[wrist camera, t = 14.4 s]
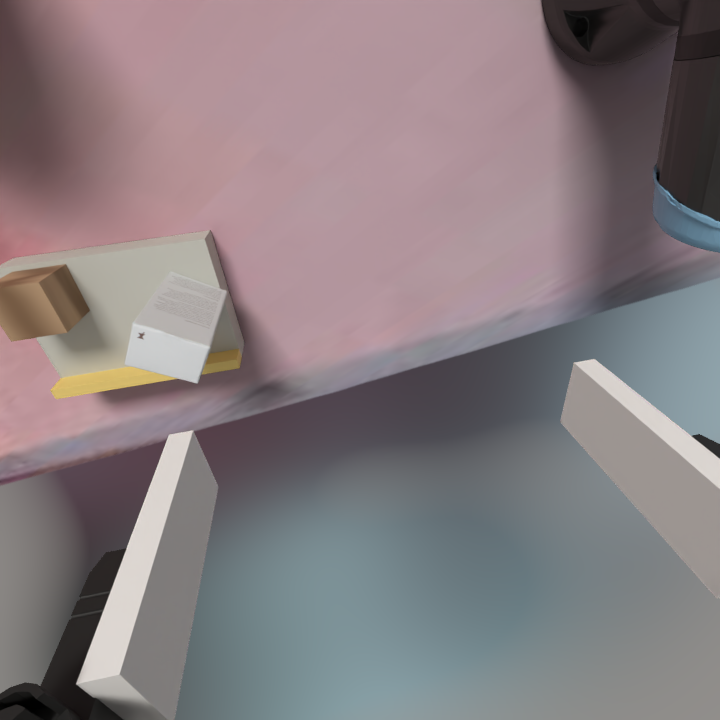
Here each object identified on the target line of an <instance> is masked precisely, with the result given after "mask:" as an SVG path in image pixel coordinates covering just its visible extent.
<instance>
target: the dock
mask: <svg viewBox="0 0 720 720" xmlns="http://www.w3.org/2000/svg"><path fill="white" fill-rule="evenodd" d="M63 264H66V265H67V267H68V269H69V271H70V273H71V275H72V277H73V279H74V281H75V283H76V284H77V286H78V288H79V290H80V292H81V294H82V296H83V298H84V300H85V302H86V304H87V306H88V307H89V309H90V311H89V312H88V313H87V314H86V315H85V316H84V317H83V318H82V319H81V320H80V321H79V322H78V323H77V324H76V325H75V326H74V327H73V328H72V329H71V330H70V331H69V332H68V333H63V334H56V335H50V336H43V337H37V338H36V339H37V341H38V342H39V344H40V345H41V347H42V348H43V350H44V352H45V353H46V355H47V356H48V358H49V360H50V361H51V363H52V364H53V366H54V368H55V369H56V371H57V372H58V374H59V375H60V377H61V379H60V380H59V381H58V382H57V383H56V384H55V386H54V387H53V388H52V389H51V390H50V391H51V392H52V394H53V395H54V397H55V398H56V399H60V398H66V397H72V396H77V395H83V394H89V393H95V392H101V391H107V390H113V389H119V388H125V387H131V386H137V385H143V384H149V383H155V382H161V381H167V380H173V379H177V378H174V377H170V376H166V375H162V374H158V373H154V372H150V371H146V370H142V369H139V368H135V367H131V366H127V365H125V364H124V363H125V358H126V353H127V348H128V343H129V338H130V333H131V328H132V323H133V322H134V320H135V319H136V318H137V316H138V315H139V314H140V312H141V311H142V310H143V308H144V306H145V305H146V304H147V302H148V301H149V300H150V298H151V297H152V295H153V294H154V292H155V291H156V290H157V288H158V287H159V286H160V284H161V283H162V281H163V280H164V279H165V277H166V276H167V274H168V273H169V272H170V271H172V272H175V273H177V274H180V275H183V276H186V277H188V278H191V279H194V280H197V281H200V282H203V283H205V284H208V285H211V286H214V287H217V288H219V289H222V290H225V291H227V297H226V300H225V303H224V306H223V310H222V313H221V316H220V319H219V322H218V325H217V329H216V332H215V335H214V339H213V342H212V346H211V349H210V352H209V355H208V358H207V361H206V364H205V366H204V369H203V372H202V374H208V373H214V372H220V371H226V370H232V369H238V368H240V364H241V359H242V354H243V348H244V340H243V336H242V333H241V330H240V326H239V323H238V320H237V316H236V313H235V310H234V306H233V303H232V300H231V297H230V293H229V290H228V287H227V283H226V280H225V277H224V273H223V270H222V267H221V263H220V260H219V257H218V254H217V250H216V247H215V244H214V240H213V237H212V234H211V230H209V231H202V232H195V233H187V234H180V235H173V236H166V237H159V238H152V239H145V240H138V241H131V242H124V243H117V244H110V245H102V246H95V247H88V248H81V249H74V250H67V251H60V252H53V253H46V254H39V255H32V256H24V257H17V258H13V259H11V260H9V261H7V262H5V263H3V264H1V265H0V278H2V277H4V276H5V275H7V274H9V273H11V272H14V271H21V270H28V269H35V268H42V267H49V266H56V265H63Z"/></svg>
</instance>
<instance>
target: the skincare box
mask: <svg viewBox="0 0 720 720" xmlns="http://www.w3.org/2000/svg"><path fill="white" fill-rule="evenodd" d="M226 297H227V291H225V290H222V289H219V288H217V287H214V286H211V285H208V284H205V283H203V282H200V281H197V280H194V279H191V278H188V277H186V276H183V275H180V274H177V273H175V272H172V271H170V272H169V273H168V274H167V276H166V277H165V279H164V280H163V281H162V283H161V284H160V286H159V287H158V288H157V290H156V291H155V292H154V294H153V295H152V297H151V298H150V300H149V301H148V302H147V304H146V305H145V306H144V308H143V310H142V311H141V312H140V314H139V315H138V316H137V318H136V319H135V320H134V322H133V323H132V328H131V333H130V338H129V343H128V348H127V353H126V358H125V363H124V364H125V365H127V366H131V367H135V368H139V369H142V370H146V371H150V372H154V373H158V374H162V375H166V376H170V377H174V378H177V379H181V380H185V381H189V382H193V383H196V384H197V383H198V382H199V380H200V377H201V375H202V372H203V369H204V366H205V364H206V361H207V358H208V355H209V352H210V349H211V346H212V342H213V339H214V335H215V332H216V329H217V325H218V322H219V319H220V316H221V313H222V310H223V306H224V303H225V300H226Z"/></svg>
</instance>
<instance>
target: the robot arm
mask: <svg viewBox="0 0 720 720" xmlns="http://www.w3.org/2000/svg"><path fill="white" fill-rule="evenodd" d="M542 1H543V9H544V13H545V18H546V21H547V24H548V27H549V30H550V32H551V34H552V36H553V38H554V40H555V41H556V43H557V44H558V46H559V47H560V48H561V49H562V50H563V51H564V52H565V53H566V54H567V55H568V56H570V57H571V58H573V59H574V60H576V61H578V62H581V63H584V64H589V65H605V64H611V63H617V62H622V61H626V60H629V59H632V58H634V57H637V56H639V55H641V54H643V53H645V52H647V51H649V50H650V49H652V48H653V47H655V46H656V45H658V44H659V43H661V42H662V41H664V40H665V39H667V38H668V37H670V36H671V35H673V34H674V33H676V32H677V31H678V36H677V42H676V49H675V56H674V60H673V66H672V72H671V78H670V85H669V91H668V97H667V103H666V110H665V116H664V122H663V128H662V135H661V141H660V147H659V153H658V160H657V164H656V165H655V167H654V170H653V180H654V183H655V188H654V198H653V216H654V219H655V220H656V221H657V222H658V224H659V225H660V227H661V229H662V230H663V231H664V232H666V233H667V234H668V235H670V236H671V237H673V238H675V239H677V240H679V241H681V242H683V243H686V244H688V245H691V246H694V247H697V248H701V249H705V250H709V251H714V252H719V253H720V0H542ZM560 422H561V423H562V424H563V425H564V427H565V428H566V429H567V430H568V431H569V432H570V433H571V435H572V436H573V437H574V438H575V439H576V440H577V441H578V442H579V444H580V445H581V446H582V447H583V448H584V449H585V450H586V451H587V453H588V454H589V455H590V456H591V457H592V458H593V459H594V460H595V462H596V463H597V464H598V465H599V466H600V467H601V468H602V470H603V471H604V472H605V473H606V474H607V475H608V476H609V477H610V478H611V480H612V481H613V482H614V483H615V484H616V485H617V486H618V487H619V489H620V490H621V491H622V492H623V493H624V494H625V495H626V497H627V498H628V499H629V500H630V501H631V502H632V503H633V505H634V506H635V507H636V508H637V509H638V510H639V511H640V512H641V514H642V515H643V516H644V517H645V518H646V519H647V520H648V521H649V523H650V524H651V525H652V526H653V527H654V528H655V529H656V530H657V531H658V533H659V534H660V535H661V536H662V537H663V538H664V539H665V541H666V542H667V543H668V544H669V545H670V546H671V547H672V548H673V549H674V551H675V552H676V553H677V554H678V555H679V556H680V558H681V559H682V560H683V561H684V562H685V563H686V564H687V565H688V566H689V568H690V569H691V570H692V571H693V572H694V573H695V574H696V575H697V577H698V578H699V579H700V580H701V581H702V582H703V583H704V585H705V586H706V587H707V588H708V589H709V590H710V591H711V593H712V594H713V595H714V596H715V597H716V598H720V444H718V443H716V442H714V441H712V440H710V439H708V438H706V437H704V436H702V435H700V434H698V435H693V436H690V435H689V434H688V433H687V432H685V431H684V430H683V429H681V428H680V427H679V426H678V425H677V424H675V423H674V422H673V421H672V420H670V419H669V418H668V417H667V416H665V415H664V414H663V413H662V412H660V411H659V410H658V409H656V408H655V407H654V406H653V405H652V404H650V403H649V402H648V401H647V400H645V399H644V398H642V396H640V395H639V394H638V393H636V392H635V391H634V390H633V389H631V388H630V387H629V386H628V385H626V384H625V383H624V382H623V381H621V380H620V379H619V378H617V377H616V376H615V375H614V374H613V373H611V372H610V371H609V370H608V369H606V368H605V367H604V366H603V365H601V364H600V363H599V362H597V361H596V360H595V359H592V360H586V361H581V362H576V363H574V364H573V369H572V373H571V377H570V382H569V386H568V390H567V395H566V399H565V403H564V408H563V413H562V417H561V421H560ZM217 491H218V485H217V483H216V481H215V478H214V476H213V474H212V472H211V470H210V467H209V465H208V463H207V461H206V458H205V456H204V454H203V452H202V449H201V447H200V445H199V443H198V440H197V438H196V436H195V434H194V431H188V432H182V433H177V434H171V435H169V436H168V439H167V442H166V444H165V447H164V450H163V453H162V456H161V458H160V461H159V464H158V466H157V469H156V471H155V474H154V477H153V479H152V482H151V485H150V487H149V490H148V493H147V495H146V498H145V501H144V504H143V506H142V509H141V512H140V514H139V517H138V520H137V522H136V525H135V528H134V530H133V533H132V536H131V538H130V541H129V544H128V546H127V549H122V550H117V551H111V552H106V553H105V554H104V556H103V557H102V558H101V560H100V561H99V562H98V563H97V565H96V566H95V567H94V568H93V570H92V571H91V572H90V573H89V576H88V578H87V580H86V582H85V585H84V587H83V589H82V592H81V594H80V600H79V601H77V603H76V606H75V608H74V610H73V612H72V615H71V616H72V618H71V620H69V622H68V624H67V626H66V629H65V631H64V633H63V635H62V638H61V640H60V642H59V645H58V647H57V649H56V652H55V654H54V656H53V658H52V661H51V663H50V666H49V668H48V670H47V672H46V675H45V677H44V679H43V682H42V684H41V686H39V685H37V684H32V683H23V684H19V685H16V686H13V687H10V688H9V689H7V690H5V691H4V692H2V693H1V694H0V720H174V719H175V713H176V708H177V703H178V697H179V692H180V687H181V681H182V676H183V671H184V665H185V660H186V655H187V650H188V644H189V639H190V634H191V629H192V623H193V618H194V613H195V607H196V602H197V597H198V591H199V586H200V581H201V576H202V570H203V565H204V559H205V554H206V548H207V544H208V538H209V533H210V528H211V522H212V517H213V512H214V507H215V501H216V496H217Z"/></svg>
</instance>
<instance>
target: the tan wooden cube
mask: <svg viewBox="0 0 720 720" xmlns="http://www.w3.org/2000/svg"><path fill="white" fill-rule="evenodd" d="M89 311H90V309H89V307H88V306H87V304H86V302H85V300H84V298H83V296H82V294H81V292H80V290H79V288H78V286H77V284H76V283H75V281H74V279H73V277H72V275H71V273H70V271H69V269H68V267H67V265H66V264H63V265H56V266H49V267H42V268H35V269H28V270H21V271H14V272H11V273H9V274H7V275H5V276H4V277H2V278H0V325H1V327H2V328H3V330H4V331H5V333H6V334H7V336H8V337H9V339H10V340H11V341H18V340H24V339H31V338H37V337H43V336H50V335H56V334H63V333H68V332H69V331H70V330H71V329H72V328H73V327H74V326H75V325H76V324H77V323H78V322H79V321H80V320H81V319H82V318H83V317H84V316H85V315H86V314H87V313H88V312H89Z"/></svg>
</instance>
